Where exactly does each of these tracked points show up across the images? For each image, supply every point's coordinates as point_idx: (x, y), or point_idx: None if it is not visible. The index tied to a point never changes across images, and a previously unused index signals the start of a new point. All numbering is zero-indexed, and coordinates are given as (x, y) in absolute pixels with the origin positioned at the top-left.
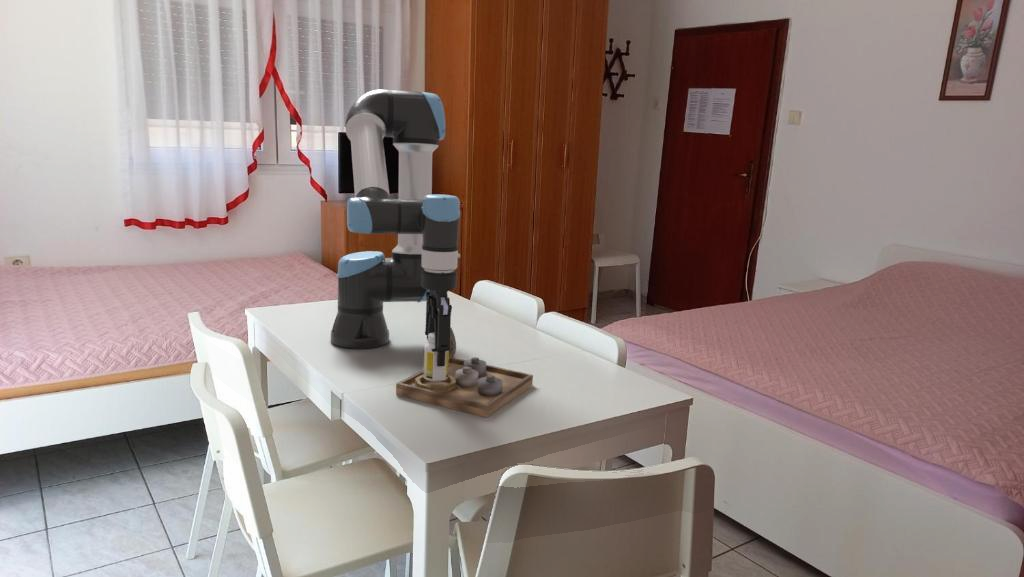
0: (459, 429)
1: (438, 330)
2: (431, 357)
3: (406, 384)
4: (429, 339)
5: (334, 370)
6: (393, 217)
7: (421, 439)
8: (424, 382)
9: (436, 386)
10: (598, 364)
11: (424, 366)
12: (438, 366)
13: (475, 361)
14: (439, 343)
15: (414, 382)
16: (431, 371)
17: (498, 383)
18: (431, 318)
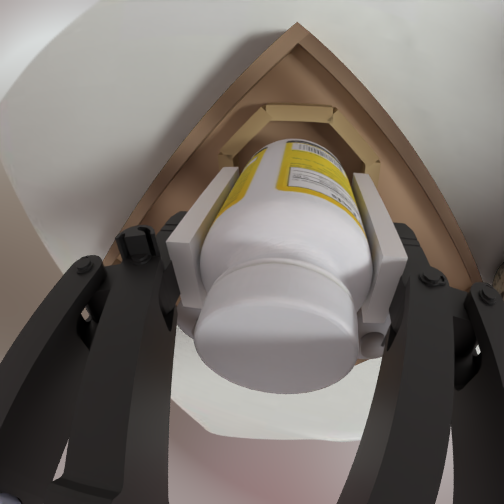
0: (61, 180)
1: (10, 362)
2: (223, 206)
3: (275, 59)
4: (245, 275)
5: None
6: None
7: (25, 105)
8: (338, 145)
9: None
10: (342, 434)
11: (283, 153)
12: (179, 213)
13: (362, 344)
14: (54, 295)
15: (348, 107)
16: (240, 175)
17: (189, 332)
18: (368, 484)
